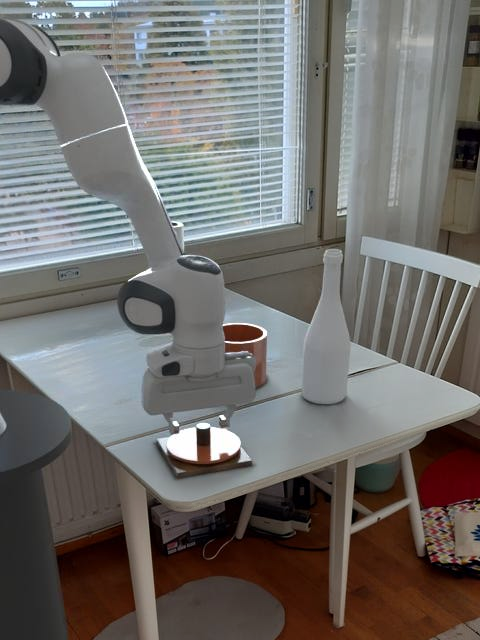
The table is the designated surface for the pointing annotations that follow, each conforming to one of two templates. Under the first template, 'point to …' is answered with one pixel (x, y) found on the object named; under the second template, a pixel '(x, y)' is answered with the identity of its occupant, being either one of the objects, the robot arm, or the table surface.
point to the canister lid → (203, 444)
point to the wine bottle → (327, 341)
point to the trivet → (194, 469)
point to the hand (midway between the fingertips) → (199, 429)
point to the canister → (248, 345)
